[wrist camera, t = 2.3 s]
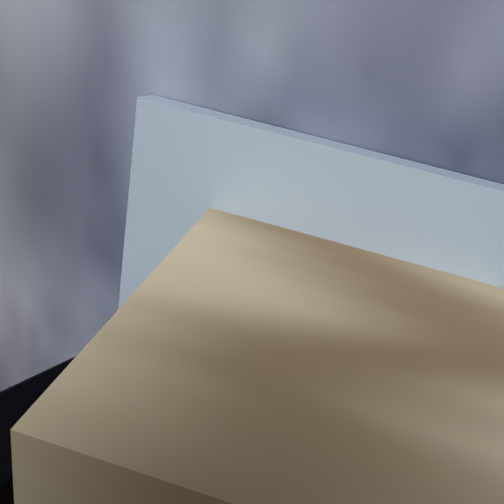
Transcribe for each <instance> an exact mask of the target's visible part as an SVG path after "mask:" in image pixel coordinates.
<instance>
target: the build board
mask: <svg viewBox="0 0 504 504" xmlns="http://www.w3.org/2000/svg"><path fill="white" fill-rule="evenodd" d="M209 208H214V209H217V210H221V211H225V212H228V213H232V214H236V215H239V216H243V217H247V218H250V219H254V220H257V221H261V222H265V223H268V224H272V225H276V226H279V227H283V228H287V229H290V230H294V231H298V232H301V233H305V234H308V235H312V236H316V237H319V238H323V239H327V240H330V241H334V242H338V243H341V244H345V245H348V246H352V247H356V248H359V249H363V250H367V251H370V252H374V253H378V254H381V255H385V256H389V257H392V258H396V259H399V260H403V261H407V262H410V263H414V264H418V265H421V266H425V267H429V268H432V269H436V270H440V271H443V272H447V273H450V274H454V275H458V276H461V277H465V278H469V279H472V280H476V281H480V282H483V283H487V284H490V285H494V286H498V287H501V289H502V290H503V291H504V184H500V183H496V182H492V181H488V180H484V179H480V178H476V177H472V176H469V175H465V174H461V173H457V172H453V171H449V170H445V169H441V168H437V167H433V166H429V165H425V164H421V163H418V162H414V161H410V160H406V159H402V158H398V157H394V156H390V155H386V154H382V153H378V152H374V151H370V150H367V149H363V148H359V147H355V146H351V145H347V144H343V143H339V142H335V141H331V140H327V139H323V138H319V137H315V136H312V135H308V134H304V133H300V132H296V131H292V130H288V129H284V128H280V127H276V126H272V125H268V124H264V123H261V122H257V121H253V120H249V119H245V118H241V117H237V116H233V115H229V114H225V113H221V112H217V111H213V110H210V109H206V108H202V107H198V106H194V105H190V104H186V103H182V102H178V101H174V100H170V99H166V98H162V97H159V96H155V95H149V96H143V97H138V98H137V107H136V118H135V129H134V140H133V151H132V162H131V174H130V185H129V196H128V207H127V218H126V229H125V240H124V251H123V263H122V274H121V285H120V296H119V307H118V309H119V308H120V307H121V306H122V305H123V304H124V303H125V302H126V301H127V299H128V298H129V297H130V296H131V295H132V294H133V293H134V292H135V291H136V289H137V288H138V287H139V286H140V285H141V284H142V283H143V282H144V281H145V279H146V278H147V277H148V276H149V275H150V274H151V273H152V272H153V271H154V270H155V268H156V267H157V266H158V265H159V264H160V263H161V262H162V261H163V260H164V258H165V257H166V256H167V255H168V254H169V253H170V252H171V251H172V250H173V248H174V247H175V246H176V245H177V244H178V243H179V242H180V241H181V240H182V238H183V237H184V236H185V235H186V234H187V233H188V232H189V231H190V230H191V228H192V227H193V226H194V225H195V224H196V223H197V222H198V221H199V220H200V218H201V217H202V216H203V215H204V214H205V213H206V212H207V211H208V210H209Z"/></svg>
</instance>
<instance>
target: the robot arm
mask: <svg viewBox="0 0 504 504" xmlns="http://www.w3.org/2000/svg"><path fill="white" fill-rule="evenodd" d="M75 357H76V356H75ZM75 357H73V358H71V359H69V360H67V361H65V362H63V363H60V364H58V365H56V366H54V367H52V368H50V369H48V370H46V371H43V372H41V373H39V374H37V375H35V376H33V377H31V378H29V379H26V380H24V381H22V382H20V383H18V384H16V385H14V386H12V387H9V388H7V389H5V390H3V391H1V392H0V504H14V491H13V472H12V452H11V433H10V429H11V428H12V427H13V426H14V425H15V424H16V423H17V421H18V420H19V419H20V418H21V417H22V416H23V415H24V414H25V413H26V411H27V410H28V409H29V408H30V407H31V406H32V405H33V404H34V403H35V402H36V400H37V399H38V398H39V397H40V396H41V395H42V394H43V393H44V392H45V390H46V389H47V388H48V387H49V386H50V385H51V384H52V383H53V382H54V380H55V379H56V378H57V377H58V376H59V375H60V374H61V373H62V372H63V370H64V369H65V368H66V367H67V366H68V365H69V364H70V363H71V362H72V360H73V359H74V358H75Z"/></svg>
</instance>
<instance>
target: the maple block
mask: <svg viewBox="0 0 504 504" xmlns="http://www.w3.org/2000/svg"><path fill="white" fill-rule="evenodd" d="M10 433H11V452H12V472H13V491H14V504H504V291H503V290H502V289H501V287H498V286H494V285H490V284H487V283H483V282H480V281H476V280H472V279H469V278H465V277H461V276H458V275H454V274H450V273H447V272H443V271H440V270H436V269H432V268H429V267H425V266H421V265H418V264H414V263H410V262H407V261H403V260H399V259H396V258H392V257H389V256H385V255H381V254H378V253H374V252H370V251H367V250H363V249H359V248H356V247H352V246H348V245H345V244H341V243H338V242H334V241H330V240H327V239H323V238H319V237H316V236H312V235H308V234H305V233H301V232H298V231H294V230H290V229H287V228H283V227H279V226H276V225H272V224H268V223H265V222H261V221H257V220H254V219H250V218H247V217H243V216H239V215H236V214H232V213H228V212H225V211H221V210H217V209H214V208H209V210H208V211H207V212H206V213H205V214H204V215H203V216H202V217H201V218H200V220H199V221H198V222H197V223H196V224H195V225H194V226H193V227H192V228H191V230H190V231H189V232H188V233H187V234H186V235H185V236H184V237H183V238H182V240H181V241H180V242H179V243H178V244H177V245H176V246H175V247H174V248H173V250H172V251H171V252H170V253H169V254H168V255H167V256H166V257H165V258H164V260H163V261H162V262H161V263H160V264H159V265H158V266H157V267H156V268H155V270H154V271H153V272H152V273H151V274H150V275H149V276H148V277H147V278H146V279H145V281H144V282H143V283H142V284H141V285H140V286H139V287H138V288H137V289H136V291H135V292H134V293H133V294H132V295H131V296H130V297H129V298H128V299H127V301H126V302H125V303H124V304H123V305H122V306H121V307H120V308H119V309H118V311H117V312H116V313H115V314H114V315H113V316H112V317H111V318H110V319H109V321H108V322H107V323H106V324H105V325H104V326H103V327H102V328H101V329H100V331H99V332H98V333H97V334H96V335H95V336H94V337H93V338H92V339H91V341H90V342H89V343H88V344H87V345H86V346H85V347H84V348H83V349H82V350H81V352H80V353H79V354H78V355H77V356H76V357H75V358H74V359H73V360H72V362H71V363H70V364H69V365H68V366H67V367H66V368H65V369H64V370H63V372H62V373H61V374H60V375H59V376H58V377H57V378H56V379H55V380H54V382H53V383H52V384H51V385H50V386H49V387H48V388H47V389H46V390H45V392H44V393H43V394H42V395H41V396H40V397H39V398H38V399H37V400H36V402H35V403H34V404H33V405H32V406H31V407H30V408H29V409H28V410H27V411H26V413H25V414H24V415H23V416H22V417H21V418H20V419H19V420H18V421H17V423H16V424H15V425H14V426H13V427H12V428H11V429H10Z"/></svg>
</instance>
